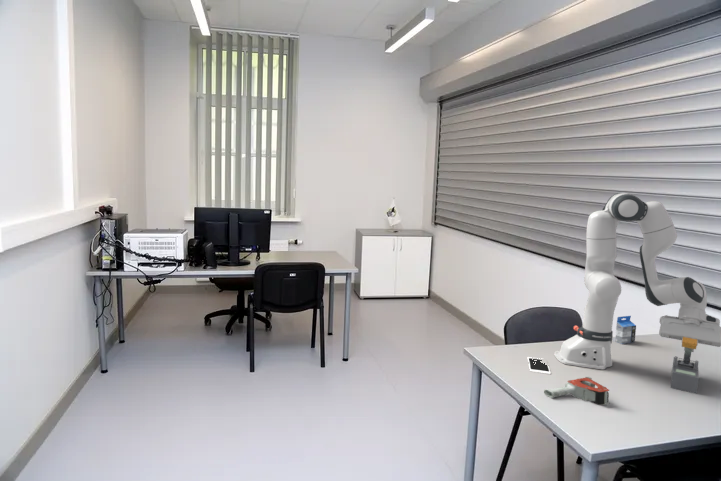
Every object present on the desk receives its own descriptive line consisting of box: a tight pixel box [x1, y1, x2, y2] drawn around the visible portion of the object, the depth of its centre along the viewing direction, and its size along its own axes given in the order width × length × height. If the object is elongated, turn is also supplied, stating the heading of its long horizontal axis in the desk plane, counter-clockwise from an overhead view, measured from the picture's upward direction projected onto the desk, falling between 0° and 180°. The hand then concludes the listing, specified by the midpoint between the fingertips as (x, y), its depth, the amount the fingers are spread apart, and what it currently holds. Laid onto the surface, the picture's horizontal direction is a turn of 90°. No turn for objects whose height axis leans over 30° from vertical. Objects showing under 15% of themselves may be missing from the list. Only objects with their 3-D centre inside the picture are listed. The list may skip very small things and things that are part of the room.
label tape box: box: [614, 315, 637, 345], centre depth 226 cm, size 9×4×12 cm, turn 111°
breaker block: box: [670, 356, 700, 395], centre depth 181 cm, size 20×8×9 cm, turn 145°
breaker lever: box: [678, 337, 698, 368], centre depth 178 cm, size 3×5×14 cm, turn 55°
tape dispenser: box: [543, 376, 610, 406], centre depth 166 cm, size 18×5×20 cm
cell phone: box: [526, 356, 552, 375], centre depth 193 cm, size 8×16×1 cm, turn 164°
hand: (688, 350), depth 178 cm, fingers closed, pressing on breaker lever
